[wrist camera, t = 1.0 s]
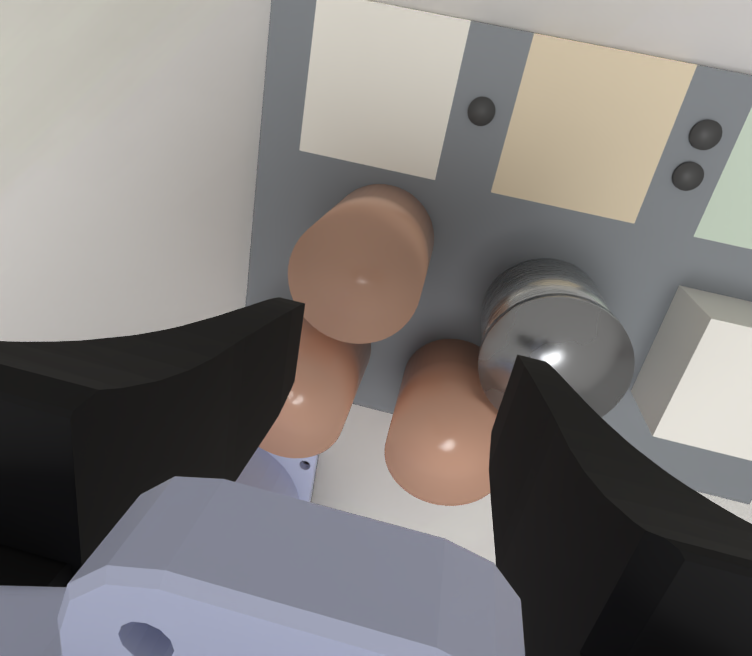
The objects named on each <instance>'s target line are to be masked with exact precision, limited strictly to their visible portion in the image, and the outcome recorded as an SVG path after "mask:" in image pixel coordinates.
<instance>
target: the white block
mask: <svg viewBox="0 0 752 656" xmlns="http://www.w3.org/2000/svg"><path fill="white" fill-rule="evenodd" d="M631 393H632V395H633V397H634V399H635V401H636V403H637V405H638V407H639V409H640V411H641V413H642V415H643V418H644V420H645V422H646V424H647V426H648V428H649V430H650V432H651V434H652V436H653V437H657V438H662V439H666V440H670V441H674V442H678V443H682V444H686V445H690V446H694V447H698V448H702V449H706V450H710V451H714V452H718V453H722V454H726V455H730V456H734V457H738V458H742V459H746V460H750V461H752V302H750V301H746V300H742V299H737V298H733V297H728V296H724V295H719V294H715V293H711V292H706V291H702V290H697V289H693V288H688V287H684V286H680V285H679V287H678V289H677V291H676V294H675V296H674V298H673V300H672V302H671V305H670V307H669V309H668V311H667V313H666V315H665V318H664V320H663V322H662V324H661V326H660V329H659V331H658V333H657V335H656V337H655V339H654V342H653V344H652V346H651V348H650V350H649V353H648V355H647V357H646V359H645V361H644V364H643V366H642V368H641V370H640V372H639V374H638V377H637V379H636V381H635V383H634V385H633V388H632V390H631Z"/></svg>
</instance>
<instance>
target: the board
mask: <svg viewBox="0 0 752 656" xmlns="http://www.w3.org/2000/svg"><path fill="white" fill-rule="evenodd" d="M372 184H387V185H392V186H396V187H399V188H401V189H403V190H405V191H407V192H409V193H410V194H412V195H413V196H414V197H415V198H417V199H418V201H419V202H420V203H421V204H422V205H423V206H424V208H425V209H426V211H427V213H428V214H429V216H430V219H431V222H432V225H433V229H434V247H433V252H432V255H431V259H430V263H429V267H428V270H427V274H426V278H425V282H424V285H423V289H422V293H421V297H420V300H419V303H418V306H417V308H416V310H415V312H414V314H413V316H412V317H411V319H410V320H409V321H408V322H407V324H406V325H405V326H404V327H403V328H402V329H400V330H399V331H398V332H396V333H395V334H393V335H392V336H390V337H388V338H386V339H383V340H380V341H377V342H372V343H371V356H370V359H369V363H368V365H367V368H366V370H365V373H364V375H363V378H362V380H361V383H360V385H359V388H358V390H357V393H356V396H355V398H354V401H353V403H352V404H355V405H359V406H363V407H367V408H371V409H375V410H379V411H383V412H387V413H391V414H393V412H394V409H395V405H396V401H397V397H398V393H399V389H400V385H401V382H402V378H403V374H404V370H405V367H406V365H407V363H408V361H409V359H410V358H411V356H412V355H413V354H414V353H415V352H416V351H417V350H418V349H420V348H421V347H423V346H424V345H426V344H428V343H430V342H433V341H436V340H441V339H459V340H464V341H468V342H471V343H473V344H475V345H477V346H479V347H480V345H481V309H482V304H483V300H484V297H485V294H486V292H487V291H488V289H489V287H490V286H491V284H492V283H493V281H494V280H495V279H496V278H497V277H498V276H499V275H500V274H502V273H503V272H504V271H505V270H507V269H509V268H510V267H512V266H514V265H516V264H518V263H521V262H524V261H527V260H532V259H539V258H552V259H558V260H562V261H565V262H568V263H570V264H573V265H575V266H576V267H578V268H580V269H581V270H582V271H584V272H585V273H586V274H587V275H588V276H589V277H590V278H591V279H592V280H593V282H594V283H595V285H596V287H597V288H598V290H599V292H600V294H601V295H602V297H603V299H604V301H605V303H606V304H607V306H608V308H609V310H610V311H611V313H612V314H613V315H614V316H615V317H616V318H617V319H618V320H619V321H620V323H621V324H622V326H623V327H624V329H625V331H626V333H627V334H628V336H629V339H630V341H631V343H632V347H633V350H634V358H635V365H634V373H633V378H632V381H631V383H630V386H629V388H628V390H627V392H626V393H625V395H624V396H623V398H622V399H621V400H620V402H619V403H618V404H617V405H616V406H615V407H614V408H613V409H612V410H611V411H609V412H608V413H607V414H606V415H604V416H602V417H601V418H602V419H603V420H604V421H605V422H607V423H608V424H609V425H610V426H611V427H612V428H613V429H614V430H615V431H616V432H618V433H619V434H620V435H621V436H622V437H623V438H624V439H625V440H627V441H628V442H629V443H630V444H631V445H632V446H634V447H635V448H636V449H637V450H639V451H640V452H641V453H643V454H644V455H645V456H646V457H648V458H649V459H650V460H652V461H653V462H654V463H656V464H657V465H658V466H659V467H661V468H662V469H663V470H665V471H666V472H668V473H669V474H671V475H672V476H673V477H675V478H676V479H678V480H679V481H681V482H682V483H684V484H685V485H687V486H688V487H690V488H692V489H693V490H695V491H698V492H702V493H706V494H710V495H714V496H718V497H722V498H726V499H730V500H734V501H738V502H742V503H745V504H750V502H751V500H752V461H750V460H746V459H742V458H738V457H734V456H730V455H726V454H722V453H718V452H714V451H710V450H706V449H702V448H698V447H694V446H690V445H686V444H682V443H678V442H674V441H670V440H666V439H662V438H657V437H653V436H652V434H651V432H650V430H649V428H648V426H647V424H646V422H645V420H644V418H643V415H642V413H641V411H640V409H639V407H638V405H637V403H636V401H635V399H634V397H633V395H632V393H631V390H632V388H633V385H634V383H635V381H636V379H637V377H638V374H639V372H640V370H641V368H642V366H643V364H644V361H645V359H646V357H647V355H648V353H649V350H650V348H651V346H652V344H653V342H654V339H655V337H656V335H657V333H658V331H659V329H660V326H661V324H662V322H663V320H664V318H665V315H666V313H667V311H668V309H669V307H670V305H671V302H672V300H673V298H674V296H675V294H676V291H677V289H678V287H679V285H680V286H684V287H688V288H693V289H697V290H702V291H706V292H711V293H715V294H719V295H724V296H728V297H733V298H737V299H742V300H746V301H750V302H752V75H748V74H742V73H737V72H732V71H727V70H722V69H717V68H712V67H706V66H701V65H696V64H691V63H686V62H681V61H676V60H671V59H665V58H660V57H655V56H650V55H645V54H640V53H635V52H629V51H624V50H619V49H614V48H609V47H604V46H599V45H594V44H588V43H583V42H578V41H573V40H568V39H563V38H558V37H552V36H547V35H542V34H537V33H532V32H527V31H522V30H517V29H511V28H506V27H501V26H496V25H491V24H486V23H481V22H475V21H470V20H465V19H460V18H455V17H450V16H445V15H440V14H434V13H429V12H424V11H419V10H414V9H409V8H404V7H398V6H393V5H388V4H383V3H378V2H373V1H368V0H271V12H270V24H269V35H268V47H267V59H266V71H265V83H264V95H263V107H262V118H261V130H260V142H259V154H258V166H257V178H256V190H255V201H254V213H253V225H252V237H251V249H250V261H249V273H248V284H247V296H246V307H247V306H249V305H252V304H255V303H258V302H262V301H265V300H268V299H272V298H277V297H280V298H285V299H289V300H293V298H292V295H291V292H290V288H289V284H288V265H289V260H290V256H291V253H292V251H293V249H294V247H295V245H296V243H297V241H298V240H299V239H300V237H301V236H302V235H303V234H304V233H305V232H306V231H307V230H308V229H309V228H310V227H311V226H312V225H313V224H315V223H316V222H317V221H318V220H319V219H320V218H321V217H323V216H324V215H325V214H326V213H327V212H328V211H330V210H331V209H332V208H333V207H334V206H335V205H336V204H338V203H339V202H340V201H341V200H342V199H343V198H344V197H346V196H347V195H348V194H349V193H351V192H353V191H354V190H356V189H358V188H361V187H363V186H367V185H372Z"/></svg>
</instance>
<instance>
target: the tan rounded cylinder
mask: <svg viewBox="0 0 752 656" xmlns="http://www.w3.org/2000/svg"><path fill="white" fill-rule="evenodd" d="M433 247H434V229H433V225H432V222H431V219H430V216H429V214H428V213H427V211H426V209H425V208H424V206H423V205H422V204H421V203H420V202H419V201H418V199H417V198H415V197H414V196H413V195H412V194H410V193H409V192H407V191H405V190H403V189H401V188H399V187H396V186H392V185H387V184H372V185H367V186H363V187H361V188H358V189H356V190H354V191H353V192H351V193H349V194H348V195H347V196H346V197H344V198H343V199H342V200H341V201H340V202H339V203H338V204H336V205H335V206H334V207H333V208H332V209H331V210H330V211H328V212H327V213H326V214H325V215H324V216H323V217H321V218H320V219H319V220H318V221H317V222H316V223H315V224H313V225H312V226H311V227H310V228H309V229H308V230H307V231H306V232H305V233H304V234H303V235H302V236H301V237H300V239H299V240H298V241H297V243H296V245H295V247H294V249H293V251H292V253H291V256H290V260H289V265H288V284H289V288H290V292H291V295H292V298H293V301H297V302H301V303H305V309H304V316H303V317H304V318H305V319H306V320H307V321H308V322H309V323H310V324H311V325H312V326H313V327H314V328H316V329H317V330H318V331H320V332H321V333H323V334H325V335H327V336H329V337H331V338H333V339H336V340H339V341H342V342H347V343H354V344H365V343H372V342H377V341H380V340H383V339H386V338H388V337H390V336H392V335H393V334H395V333H396V332H398V331H399V330H400V329H402V328H403V327H404V326H405V325H406V324H407V322H408V321H409V320H410V319H411V317H412V316H413V314H414V312H415V310H416V308H417V306H418V303H419V300H420V297H421V293H422V289H423V285H424V282H425V278H426V274H427V270H428V267H429V263H430V259H431V255H432V252H433Z"/></svg>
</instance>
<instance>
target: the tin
mask: <svg viewBox="0 0 752 656" xmlns="http://www.w3.org/2000/svg"><path fill="white" fill-rule="evenodd" d="M517 355H521V356H525V357H530V358H534V359H538V360H542V361H546V362H547V363H548V364H550V365H551V366H552V367H553V368H554V369H555V370H556V371H557V372H558V373H559V374H560V375H561V376H562V377H563V378H564V379H565V381H566V382H567V383H568V384H569V385H570V386H571V387H572V388H573V389H574V390H575V391H576V392H577V393H578V394H579V395H580V396H581V398H582V399H583V400H584V401H585V402H586V403H587V404H588V405H589V406H590V407H591V408H592V409H593V410H594V411H595V412H596V413H597V414H598V415H599V416H600V417H602V416H604V415H606V414H607V413H608V412H609V411H611V410H612V409H613V408H614V407H615V406H616V405H617V404H618V403H619V402H620V400H621V399H622V398H623V396H624V395H625V393H626V392H627V390H628V388H629V386H630V383H631V381H632V378H633V373H634V365H635V358H634V350H633V347H632V343H631V341H630V339H629V336H628V334H627V333H626V331H625V329H624V327H623V326H622V324H621V323H620V321H619V320H618V319H617V318H616V317H615V316H614V315H613V314H612V313H611V311H610V310H609V308H608V306H607V304H606V303H605V301H604V299H603V297H602V295H601V294H600V292H599V290H598V288H597V287H596V285H595V283H594V282H593V280H592V279H591V278H590V277H589V276H588V275H587V274H586V273H585V272H584V271H582V270H581V269H580V268H578V267H576V266H575V265H573V264H570V263H568V262H565V261H562V260H558V259H552V258H539V259H532V260H527V261H524V262H521V263H518V264H516V265H514V266H512V267H510V268H509V269H507V270H505V271H504V272H503V273H502V274H500V275H499V276H498V277H497V278H496V279H495V280H494V281H493V283H492V284H491V286H490V287H489V289H488V291H487V292H486V294H485V297H484V300H483V304H482V309H481V345H480V350H479V357H478V372H479V378H480V383H481V386H482V388H483V391H484V393H485V394H486V396H487V398H488V399H489V401H490V402H491V403H492V405H493V406H494V407H495V408H496V409H497V410H499V407H500V404H501V401H502V398H503V395H504V392H505V390H506V387H507V384H508V381H509V378H510V375H511V372H512V369H513V366H514V363H515V360H516V357H517Z"/></svg>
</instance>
